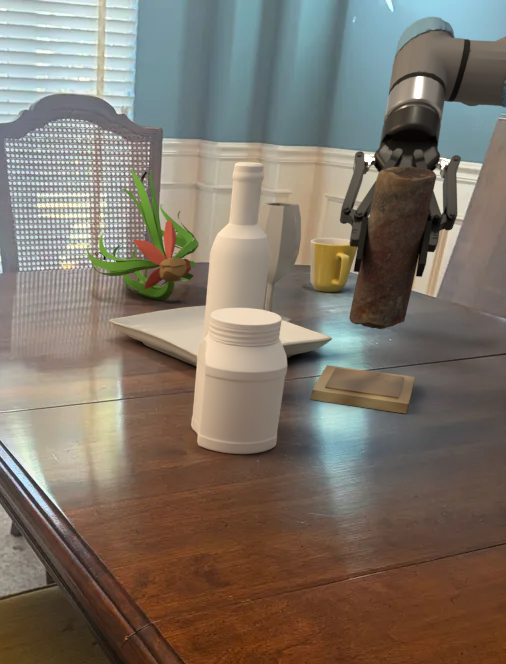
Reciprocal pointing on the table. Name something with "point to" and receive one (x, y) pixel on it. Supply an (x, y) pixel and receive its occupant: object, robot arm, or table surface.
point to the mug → (330, 263)
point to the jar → (239, 382)
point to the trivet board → (364, 389)
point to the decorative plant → (152, 250)
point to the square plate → (201, 333)
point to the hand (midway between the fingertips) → (388, 267)
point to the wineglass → (280, 242)
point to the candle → (392, 246)
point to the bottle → (239, 249)
